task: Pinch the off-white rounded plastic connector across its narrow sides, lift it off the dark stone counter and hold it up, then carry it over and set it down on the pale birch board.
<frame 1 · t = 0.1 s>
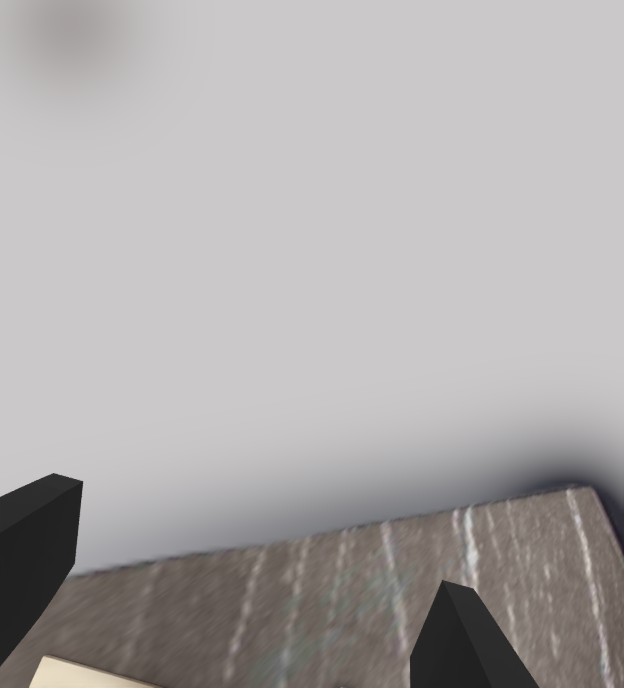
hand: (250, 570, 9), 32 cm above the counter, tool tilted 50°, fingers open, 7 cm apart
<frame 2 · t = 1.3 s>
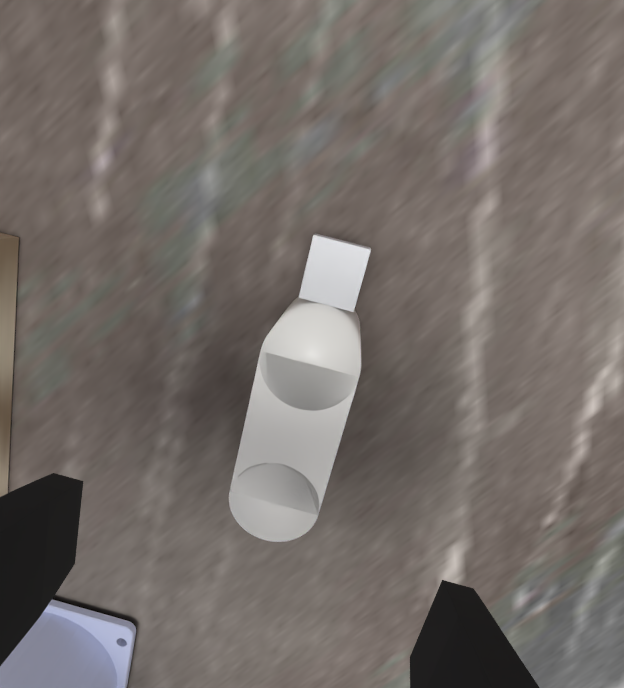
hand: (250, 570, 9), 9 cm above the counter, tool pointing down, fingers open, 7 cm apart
connector: (305, 388, 18), on the counter
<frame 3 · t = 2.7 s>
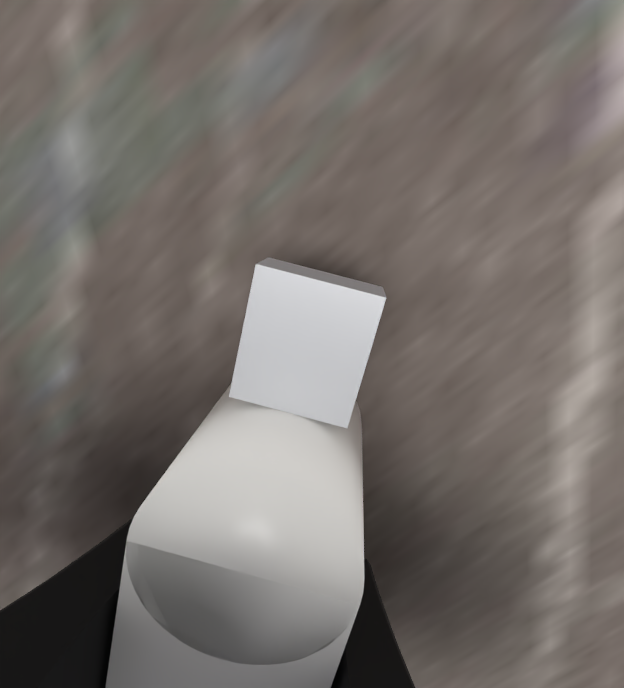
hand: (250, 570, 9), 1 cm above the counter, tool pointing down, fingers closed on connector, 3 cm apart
connector: (264, 522, 10), on the counter, touching gripper
when the fingers open (3 cm above the counter, at t = 7.9 s): connector stays where it is, resting on birch board.
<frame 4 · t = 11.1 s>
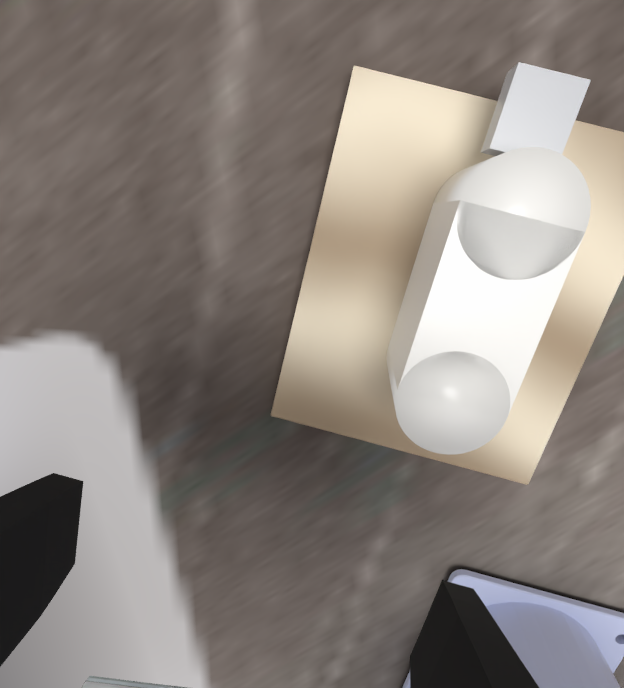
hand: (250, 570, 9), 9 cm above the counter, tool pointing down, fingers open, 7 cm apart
birch board: (445, 292, 16), on the counter
connector: (452, 289, 15), point 1 cm above the counter, touching birch board
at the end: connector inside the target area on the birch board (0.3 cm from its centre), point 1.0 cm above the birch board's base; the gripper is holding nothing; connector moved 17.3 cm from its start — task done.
